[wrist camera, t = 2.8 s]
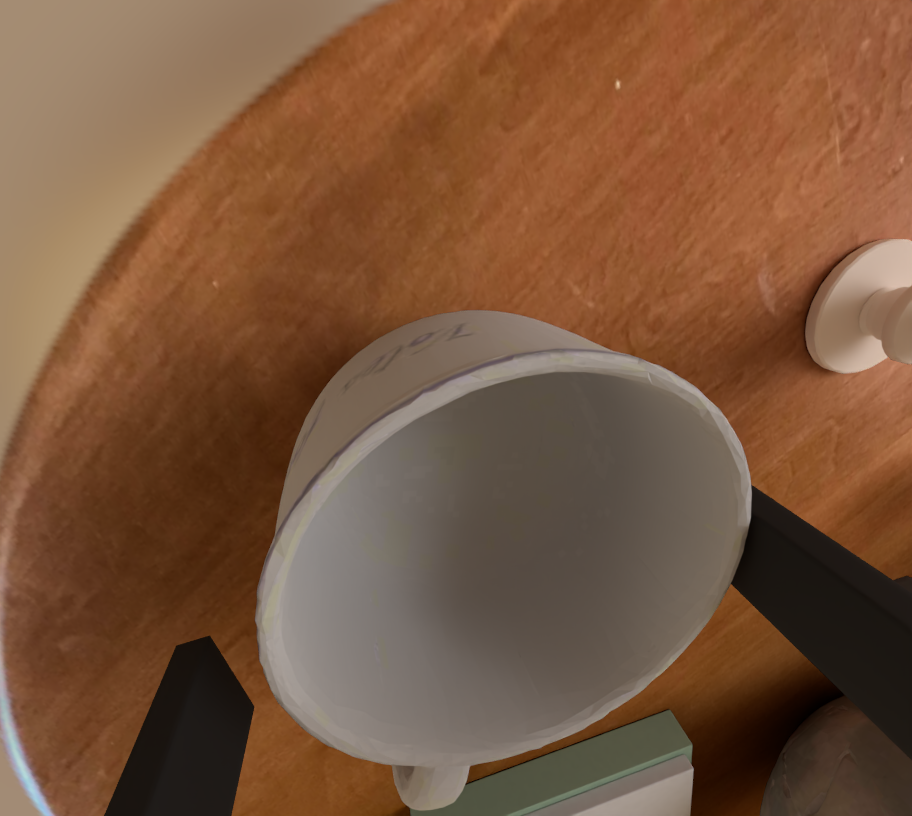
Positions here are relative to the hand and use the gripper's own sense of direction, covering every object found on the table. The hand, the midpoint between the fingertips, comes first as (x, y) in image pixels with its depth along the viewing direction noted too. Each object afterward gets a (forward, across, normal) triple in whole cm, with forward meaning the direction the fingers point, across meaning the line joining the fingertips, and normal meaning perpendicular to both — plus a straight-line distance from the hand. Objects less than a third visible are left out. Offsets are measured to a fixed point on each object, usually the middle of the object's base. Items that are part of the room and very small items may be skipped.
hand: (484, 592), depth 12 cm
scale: (+6, +2, -29) cm, 29 cm away
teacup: (+6, 0, 0) cm, 6 cm away
